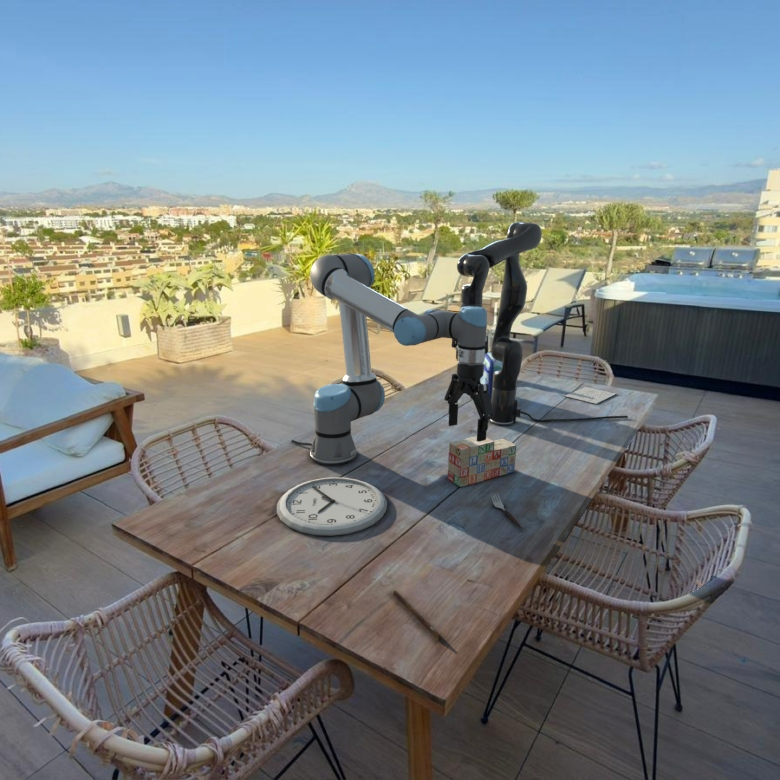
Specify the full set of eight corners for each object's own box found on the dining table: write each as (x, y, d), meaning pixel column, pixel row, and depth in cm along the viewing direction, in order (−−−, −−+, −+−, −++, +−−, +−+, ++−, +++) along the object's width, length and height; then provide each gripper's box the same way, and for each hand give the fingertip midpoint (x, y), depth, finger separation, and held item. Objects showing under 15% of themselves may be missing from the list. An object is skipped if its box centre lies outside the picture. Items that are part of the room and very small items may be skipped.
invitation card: (585, 386, 254) (616, 393, 244) (585, 387, 254) (616, 394, 244) (564, 395, 239) (596, 403, 229) (564, 396, 239) (596, 404, 229)
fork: (516, 530, 132) (517, 523, 131) (489, 500, 147) (489, 493, 146) (526, 529, 133) (526, 522, 132) (497, 499, 147) (498, 492, 147)
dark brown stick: (392, 594, 108) (393, 590, 108) (394, 593, 109) (394, 589, 108) (438, 640, 96) (438, 636, 96) (440, 639, 97) (440, 635, 96)
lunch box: (475, 390, 246) (478, 346, 240) (498, 390, 246) (501, 347, 240) (484, 408, 221) (487, 360, 215) (509, 409, 221) (513, 360, 215)
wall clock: (392, 527, 129) (268, 531, 127) (391, 533, 130) (269, 537, 127) (383, 473, 158) (282, 475, 155) (383, 478, 158) (282, 480, 156)
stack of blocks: (501, 464, 169) (504, 429, 165) (514, 472, 164) (518, 436, 160) (447, 478, 159) (449, 441, 155) (459, 487, 154) (461, 449, 150)
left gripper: (434, 354, 156) (432, 421, 162) (488, 374, 135) (483, 450, 141) (455, 352, 159) (451, 417, 166) (511, 371, 139) (504, 445, 145)
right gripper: (447, 314, 178) (446, 360, 183) (480, 320, 168) (477, 369, 173) (462, 312, 183) (460, 357, 188) (494, 317, 173) (492, 365, 178)
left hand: (466, 432), depth 153 cm, fingers open, 13 cm apart
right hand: (468, 362), depth 180 cm, fingers open, 8 cm apart
